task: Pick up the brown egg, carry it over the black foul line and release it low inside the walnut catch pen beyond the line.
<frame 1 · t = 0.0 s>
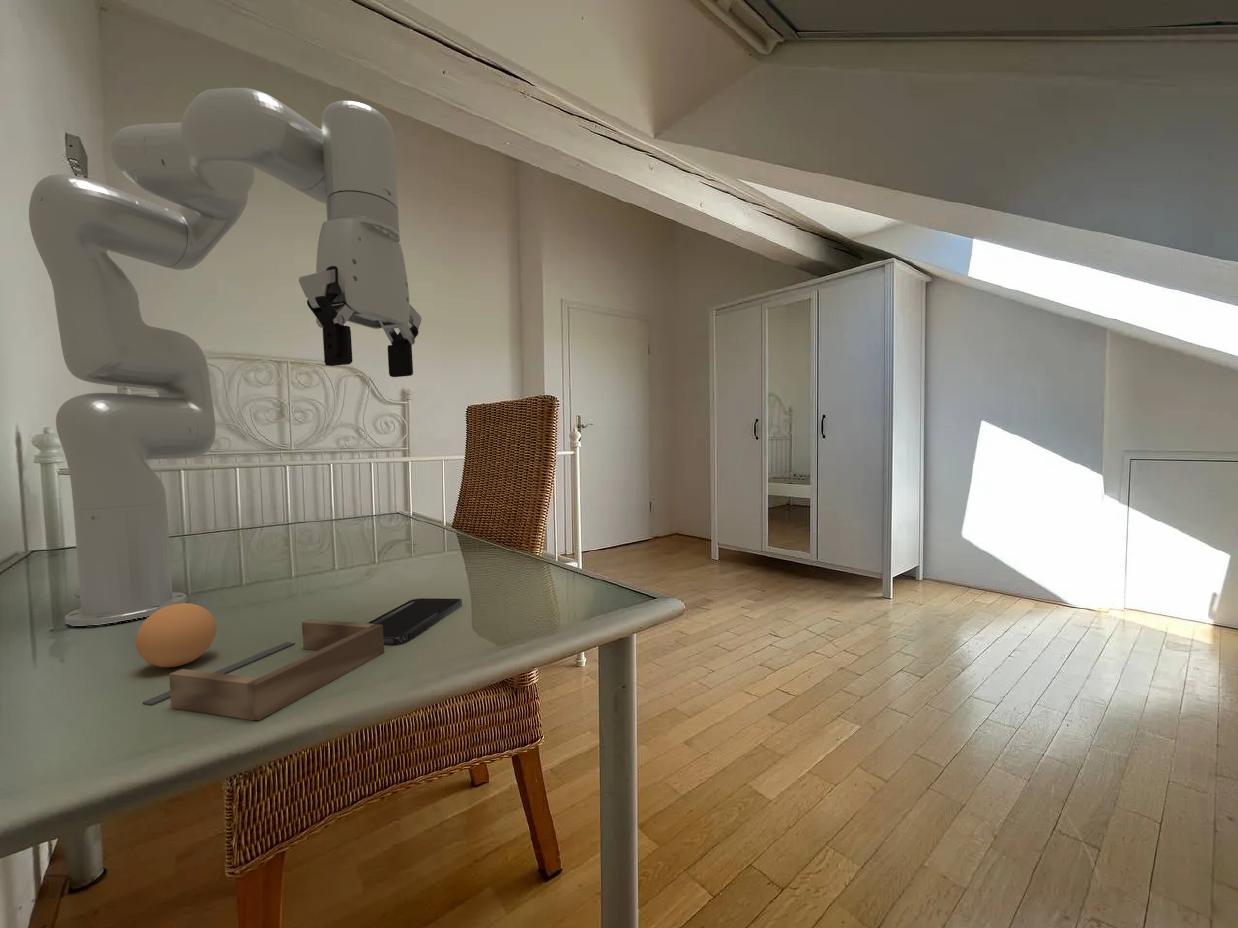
hand: (372, 370, 59), 31 cm above the table, tool pointing down, fingers open, 9 cm apart
brown egg: (177, 634, 53), point 3 cm above the table
phone: (409, 626, 64), on the table
foul line: (228, 669, 51), on the table
catch pen: (287, 676, 49), on the table
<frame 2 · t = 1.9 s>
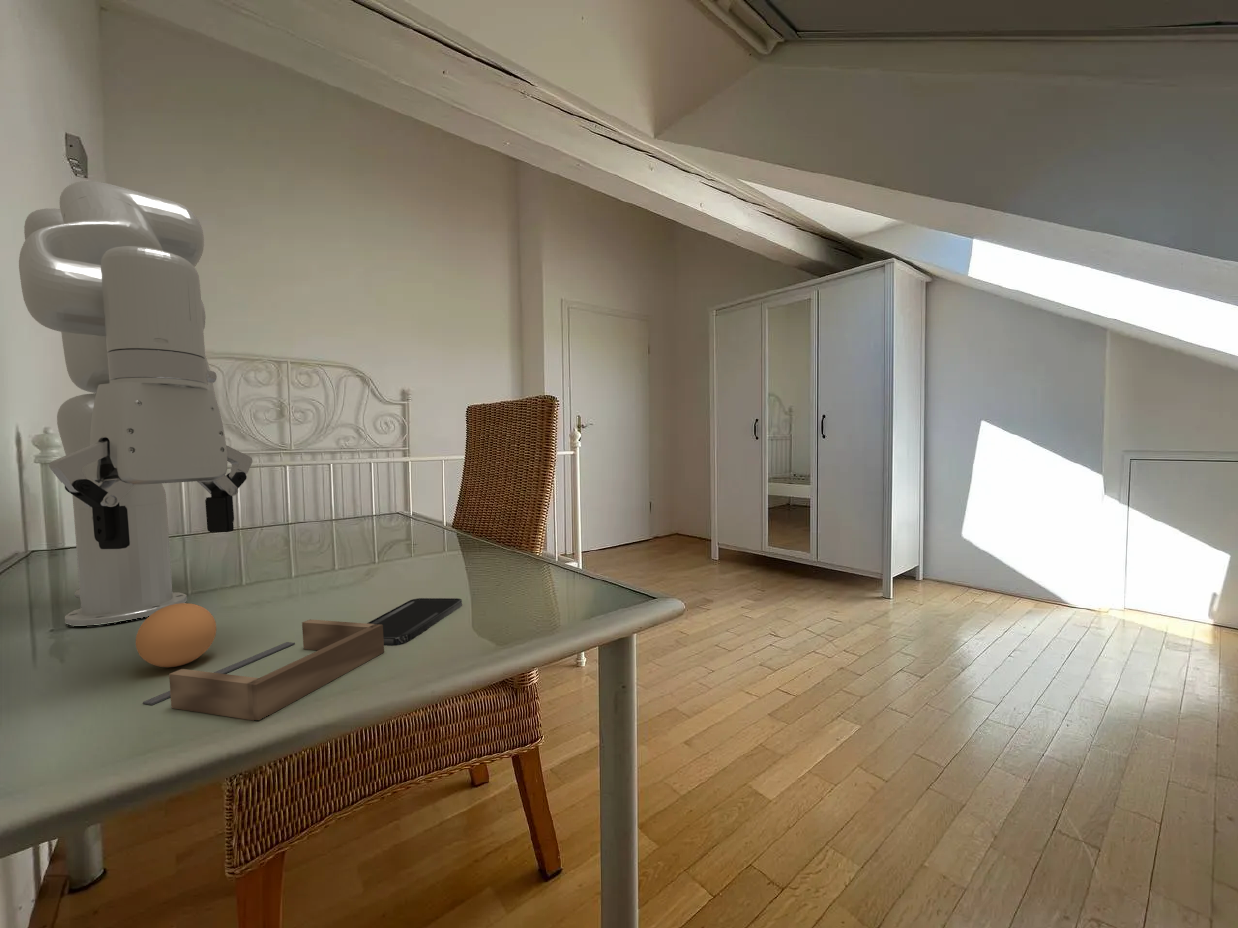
hand: (172, 539, 52), 13 cm above the table, tool pointing down, fingers open, 9 cm apart
nothing on the table moved.
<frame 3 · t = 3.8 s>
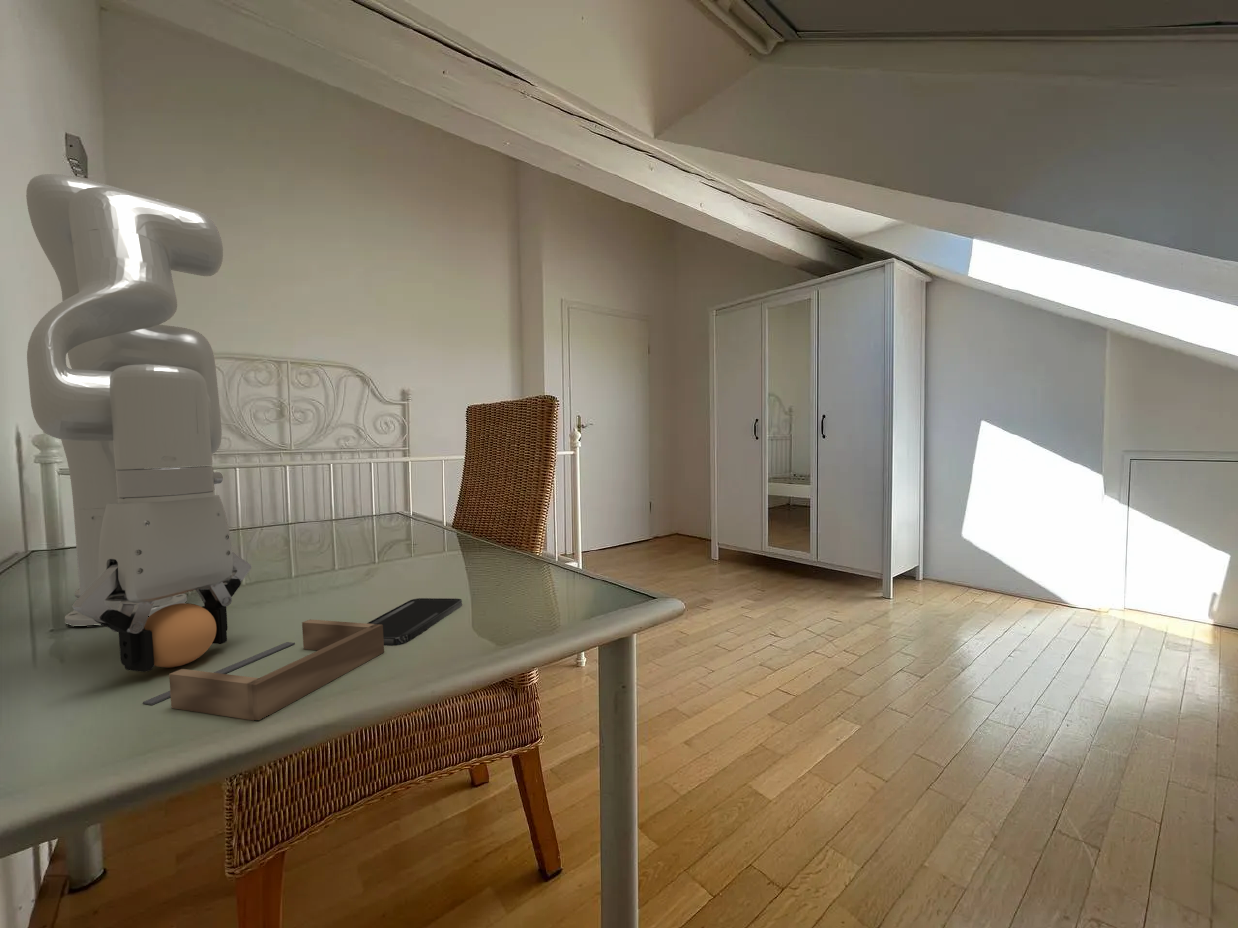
hand: (178, 653, 53), 1 cm above the table, tool pointing down, fingers closed on brown egg, 6 cm apart
brown egg: (177, 634, 53), point 3 cm above the table, touching gripper
everything else where it was.
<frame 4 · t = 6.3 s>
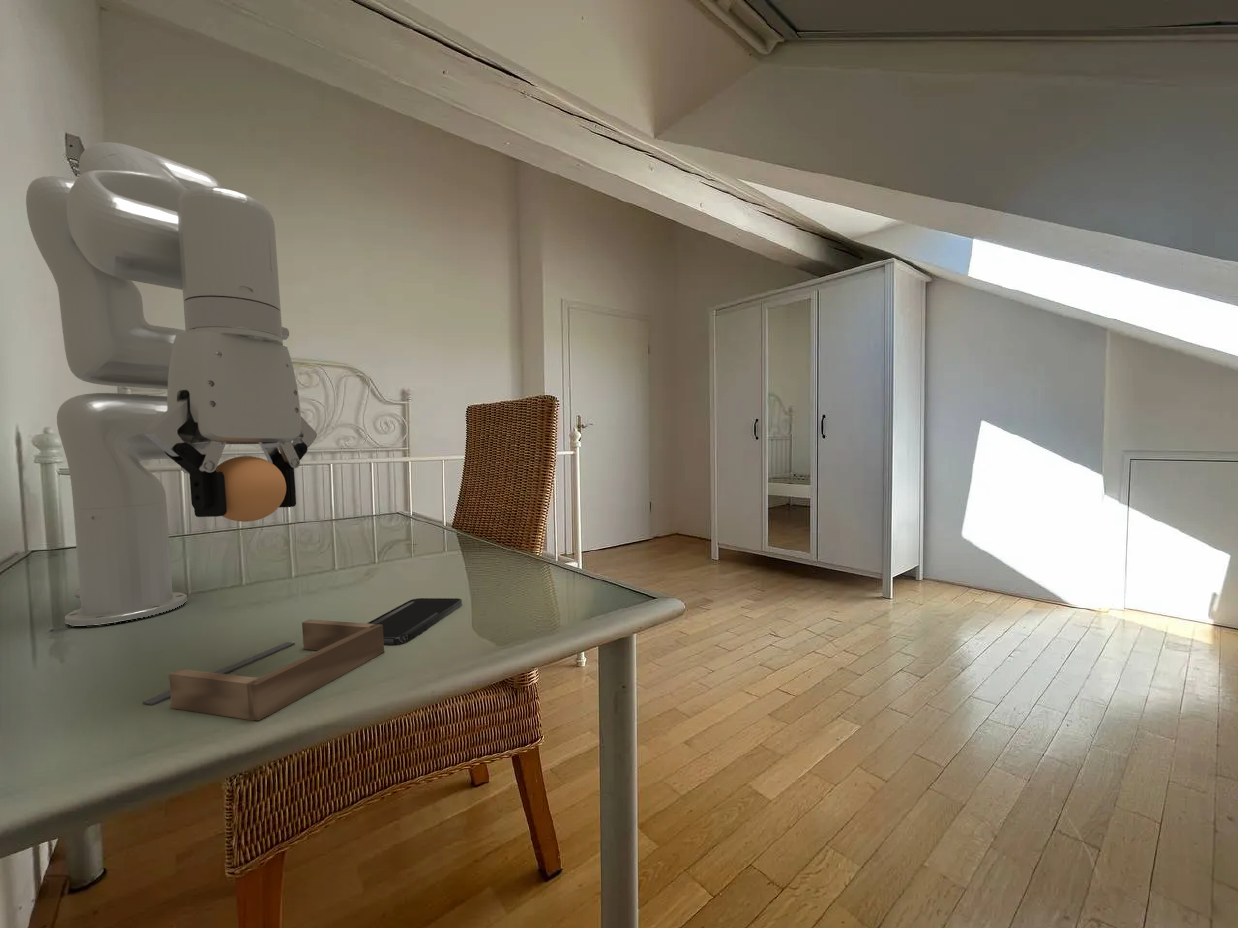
hand: (248, 509, 49), 16 cm above the table, tool pointing down, fingers closed on brown egg, 6 cm apart
brown egg: (247, 488, 49), point 18 cm above the table, touching gripper
everything else where it was.
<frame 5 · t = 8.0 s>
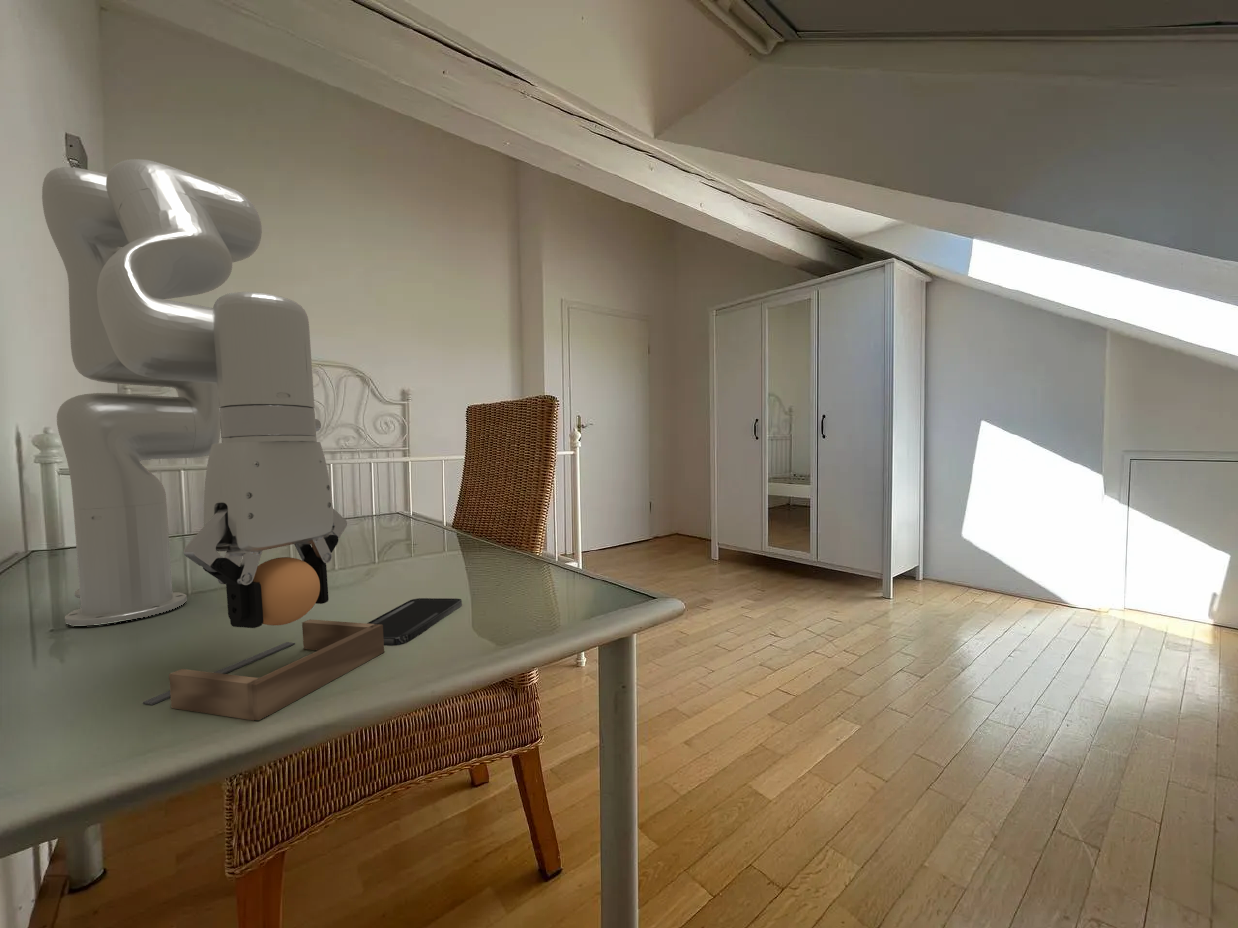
hand: (282, 611, 49), 6 cm above the table, tool pointing down, fingers closed on brown egg, 6 cm apart
brown egg: (281, 590, 49), point 8 cm above the table, touching gripper
everything else where it was.
when the fingers open (4 cm above the table, at t = 9.0 s): brown egg drops 2 cm, point 3 cm above the table.
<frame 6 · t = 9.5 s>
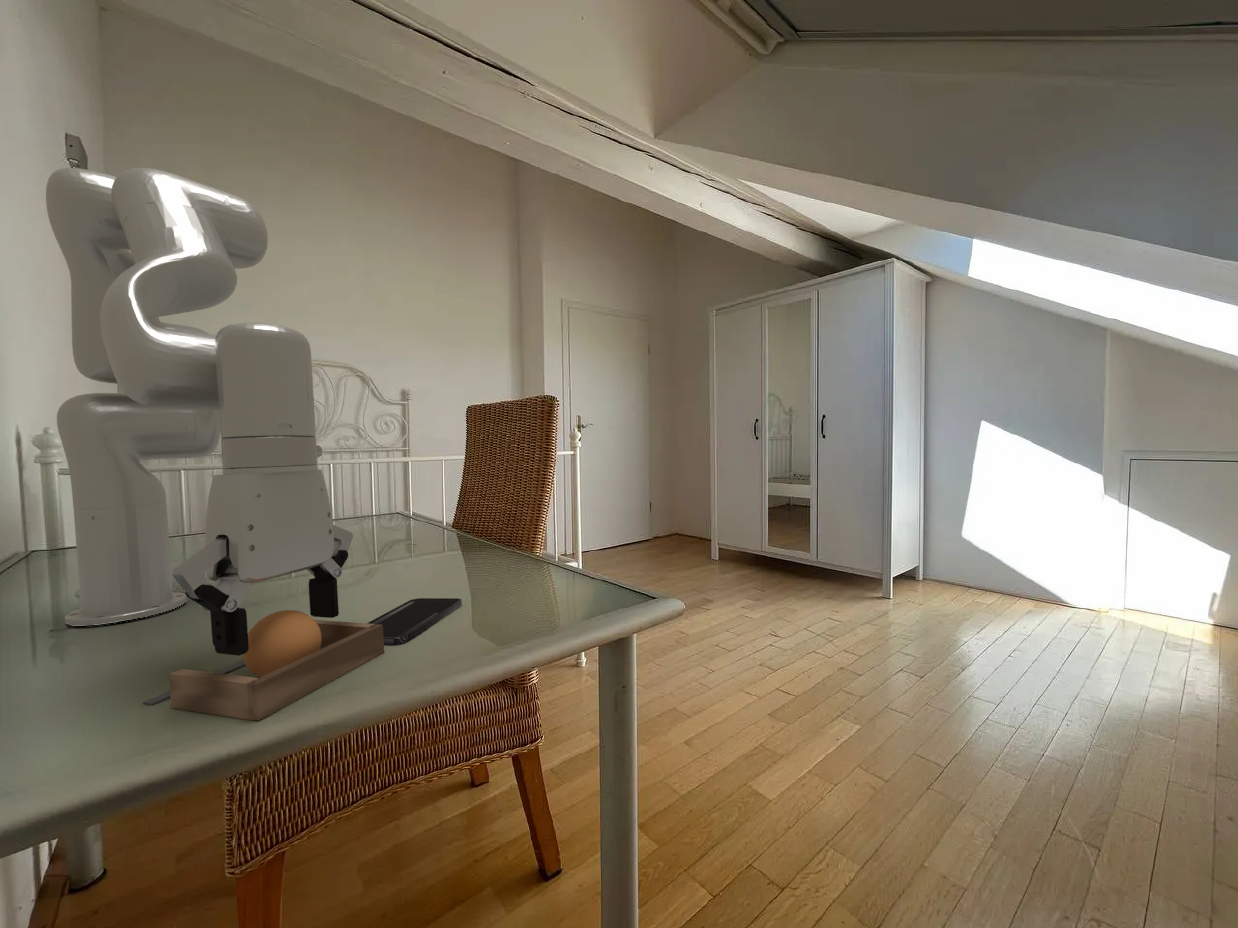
hand: (282, 632, 49), 4 cm above the table, tool pointing down, fingers open, 9 cm apart
brown egg: (283, 644, 49), point 3 cm above the table
everything else where it was.
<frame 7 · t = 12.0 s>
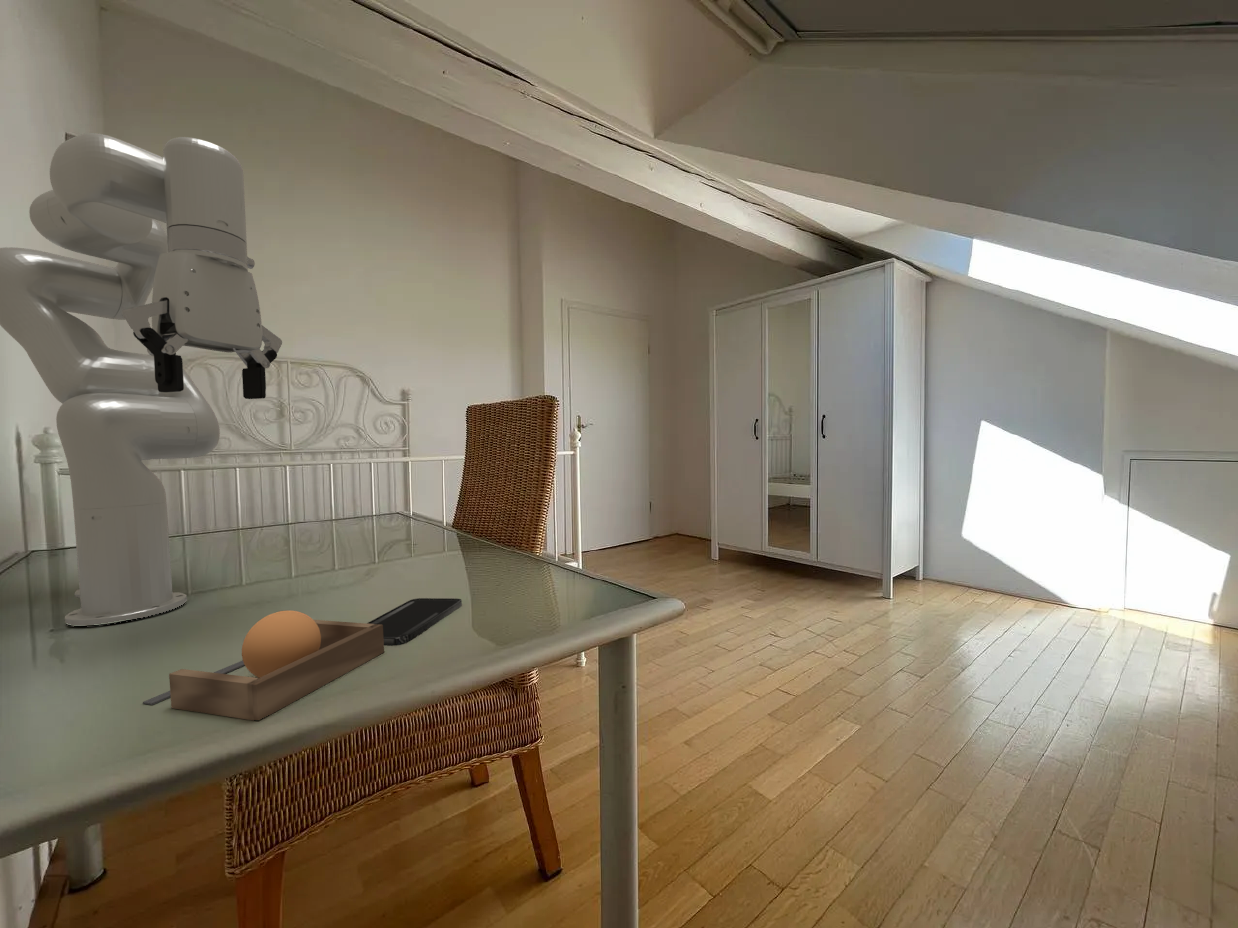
hand: (215, 395, 62), 29 cm above the table, tool pointing down, fingers open, 9 cm apart
nothing on the table moved.
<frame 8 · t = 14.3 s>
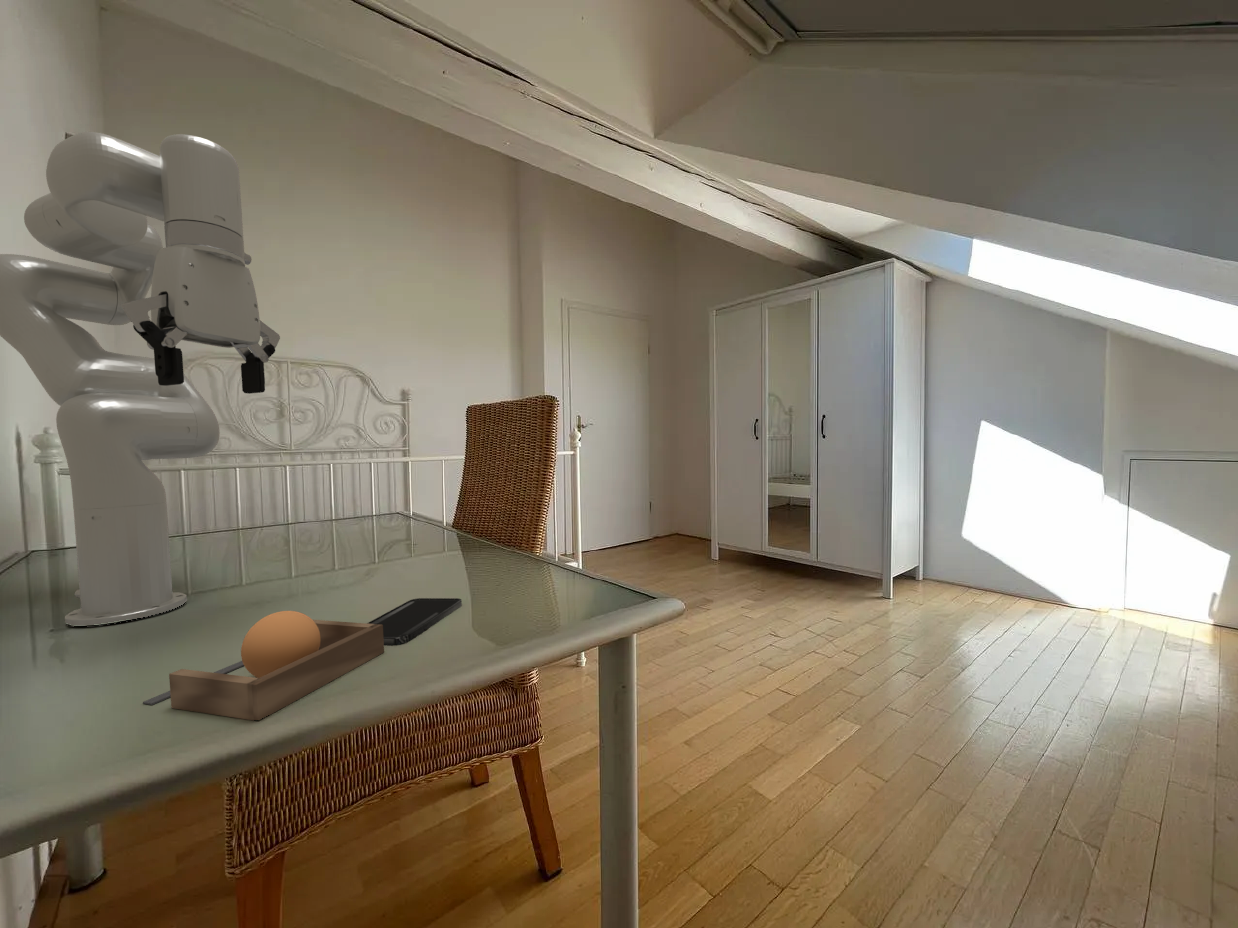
hand: (215, 389, 62), 30 cm above the table, tool pointing down, fingers open, 9 cm apart
nothing on the table moved.
at the end: brown egg inside the target area (0.2 cm from its centre), point 3.2 cm above the table; the gripper is holding nothing; brown egg moved 14.6 cm from its start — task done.
